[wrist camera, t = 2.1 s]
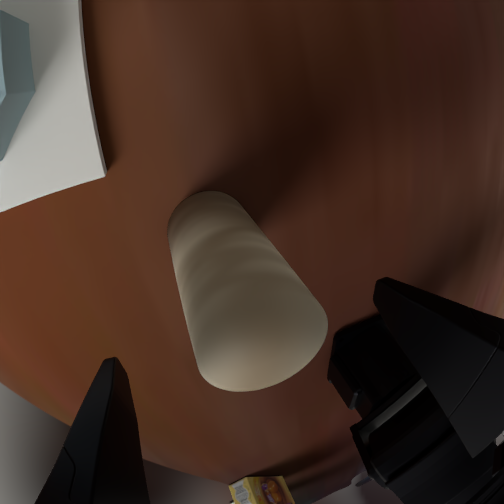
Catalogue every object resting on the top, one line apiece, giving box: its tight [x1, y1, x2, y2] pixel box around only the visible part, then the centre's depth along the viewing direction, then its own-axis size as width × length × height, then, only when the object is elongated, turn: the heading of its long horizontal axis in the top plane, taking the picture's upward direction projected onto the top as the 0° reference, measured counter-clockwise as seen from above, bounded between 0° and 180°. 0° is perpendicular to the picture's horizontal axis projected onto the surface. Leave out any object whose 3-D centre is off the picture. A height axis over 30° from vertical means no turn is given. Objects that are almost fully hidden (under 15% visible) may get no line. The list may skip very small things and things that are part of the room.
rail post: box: [167, 191, 328, 392], centre depth 12 cm, size 4×4×8 cm
